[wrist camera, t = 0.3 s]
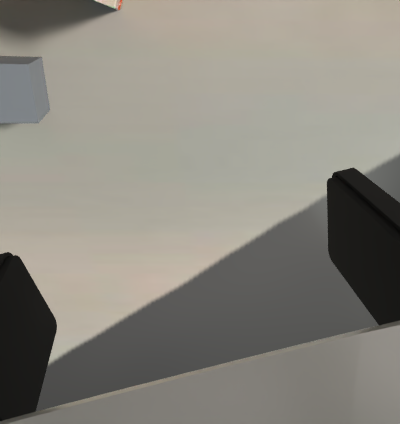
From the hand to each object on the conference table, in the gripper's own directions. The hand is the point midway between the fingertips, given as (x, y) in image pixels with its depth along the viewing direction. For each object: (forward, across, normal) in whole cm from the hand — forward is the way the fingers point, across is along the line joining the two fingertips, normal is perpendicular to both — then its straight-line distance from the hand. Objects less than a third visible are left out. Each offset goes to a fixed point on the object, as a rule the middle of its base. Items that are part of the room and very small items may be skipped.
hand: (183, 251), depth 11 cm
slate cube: (+31, +13, -2) cm, 33 cm away
